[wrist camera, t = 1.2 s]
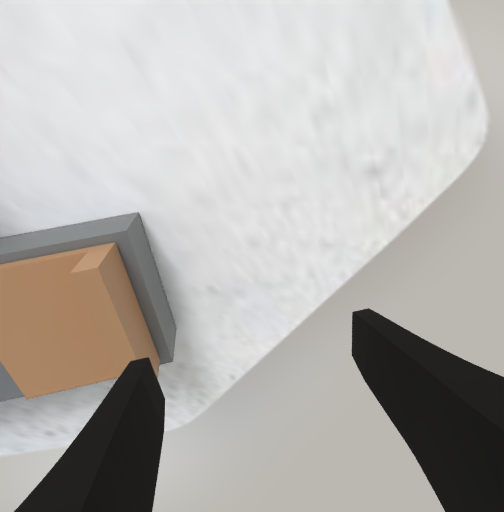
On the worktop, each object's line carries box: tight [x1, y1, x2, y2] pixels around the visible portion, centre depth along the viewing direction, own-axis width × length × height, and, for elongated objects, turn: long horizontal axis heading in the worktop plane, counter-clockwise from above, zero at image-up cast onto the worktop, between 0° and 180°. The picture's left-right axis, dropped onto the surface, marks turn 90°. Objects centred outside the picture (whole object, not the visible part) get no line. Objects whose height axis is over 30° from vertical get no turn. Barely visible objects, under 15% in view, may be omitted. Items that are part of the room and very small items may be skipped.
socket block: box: [0, 212, 176, 402], centre depth 16 cm, size 15×8×3 cm, turn 98°
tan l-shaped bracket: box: [0, 242, 160, 399], centre depth 13 cm, size 7×7×3 cm
